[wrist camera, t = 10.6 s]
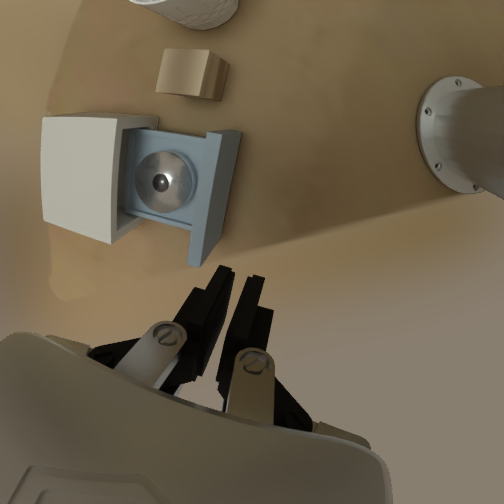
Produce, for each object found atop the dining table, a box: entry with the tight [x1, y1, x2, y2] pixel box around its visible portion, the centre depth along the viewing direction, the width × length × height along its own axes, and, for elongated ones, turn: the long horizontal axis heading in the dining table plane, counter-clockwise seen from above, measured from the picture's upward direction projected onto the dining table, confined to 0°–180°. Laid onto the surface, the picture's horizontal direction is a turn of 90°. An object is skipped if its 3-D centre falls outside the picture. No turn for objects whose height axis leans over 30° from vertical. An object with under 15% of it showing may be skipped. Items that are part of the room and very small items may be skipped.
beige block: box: [155, 49, 229, 101], centre depth 21 cm, size 4×4×6 cm
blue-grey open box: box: [124, 127, 242, 268], centre depth 25 cm, size 11×12×7 cm
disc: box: [135, 149, 198, 213], centre depth 25 cm, size 6×6×2 cm
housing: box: [41, 112, 159, 244], centre depth 26 cm, size 11×12×8 cm
